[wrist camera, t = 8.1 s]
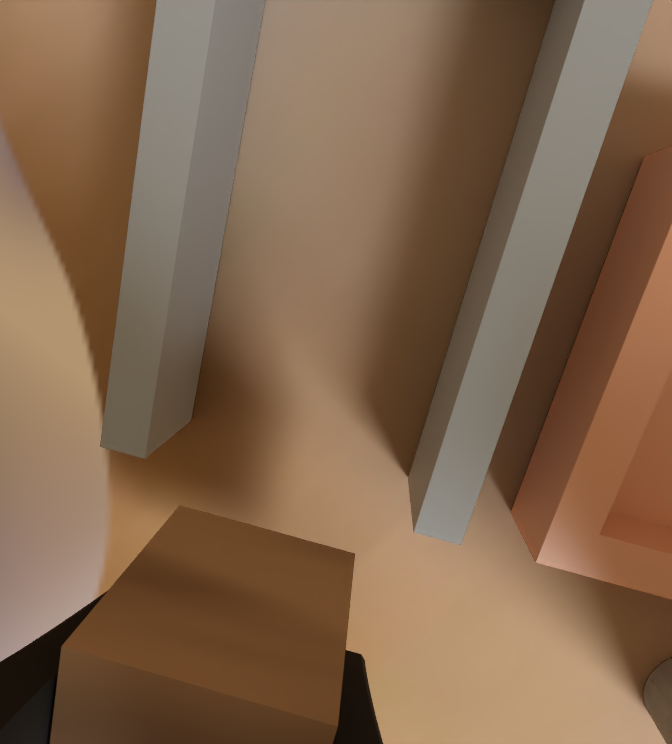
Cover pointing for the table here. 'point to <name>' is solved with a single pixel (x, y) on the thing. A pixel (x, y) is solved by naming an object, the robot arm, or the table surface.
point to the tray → (614, 414)
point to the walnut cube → (211, 642)
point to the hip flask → (660, 698)
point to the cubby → (488, 277)
